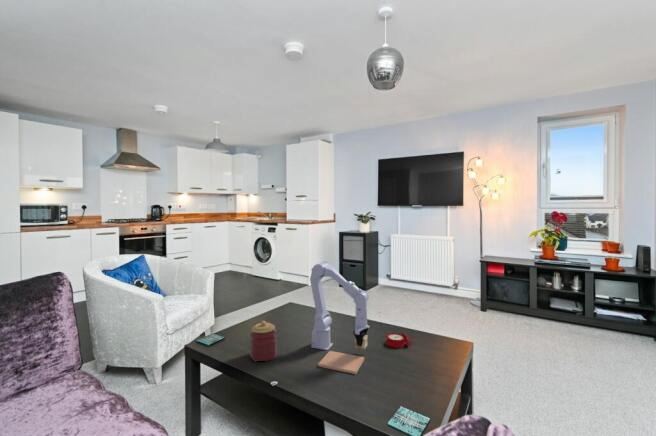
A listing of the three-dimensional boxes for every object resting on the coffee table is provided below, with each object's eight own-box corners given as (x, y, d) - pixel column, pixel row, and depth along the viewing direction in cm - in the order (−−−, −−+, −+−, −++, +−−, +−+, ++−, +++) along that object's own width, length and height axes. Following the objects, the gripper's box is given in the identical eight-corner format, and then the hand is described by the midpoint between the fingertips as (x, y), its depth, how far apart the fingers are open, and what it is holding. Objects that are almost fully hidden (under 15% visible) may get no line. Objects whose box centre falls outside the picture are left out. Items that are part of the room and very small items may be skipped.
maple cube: (354, 347, 153) (354, 337, 153) (357, 343, 158) (357, 333, 158) (364, 349, 151) (364, 339, 151) (367, 345, 156) (367, 335, 156)
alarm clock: (381, 333, 171) (407, 326, 172) (383, 344, 171) (409, 337, 172) (386, 341, 160) (413, 334, 161) (388, 353, 161) (416, 346, 162)
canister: (282, 355, 153) (282, 320, 153) (260, 365, 144) (259, 328, 143) (266, 347, 162) (266, 314, 162) (244, 356, 153) (244, 321, 152)
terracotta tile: (318, 366, 143) (318, 363, 143) (329, 353, 156) (329, 350, 156) (355, 374, 136) (355, 371, 136) (364, 359, 149) (364, 357, 149)
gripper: (365, 322, 146) (365, 350, 146) (372, 312, 159) (372, 338, 160) (350, 320, 148) (350, 348, 149) (359, 310, 162) (359, 336, 162)
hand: (361, 343), depth 154 cm, fingers closed on maple cube, 5 cm apart
